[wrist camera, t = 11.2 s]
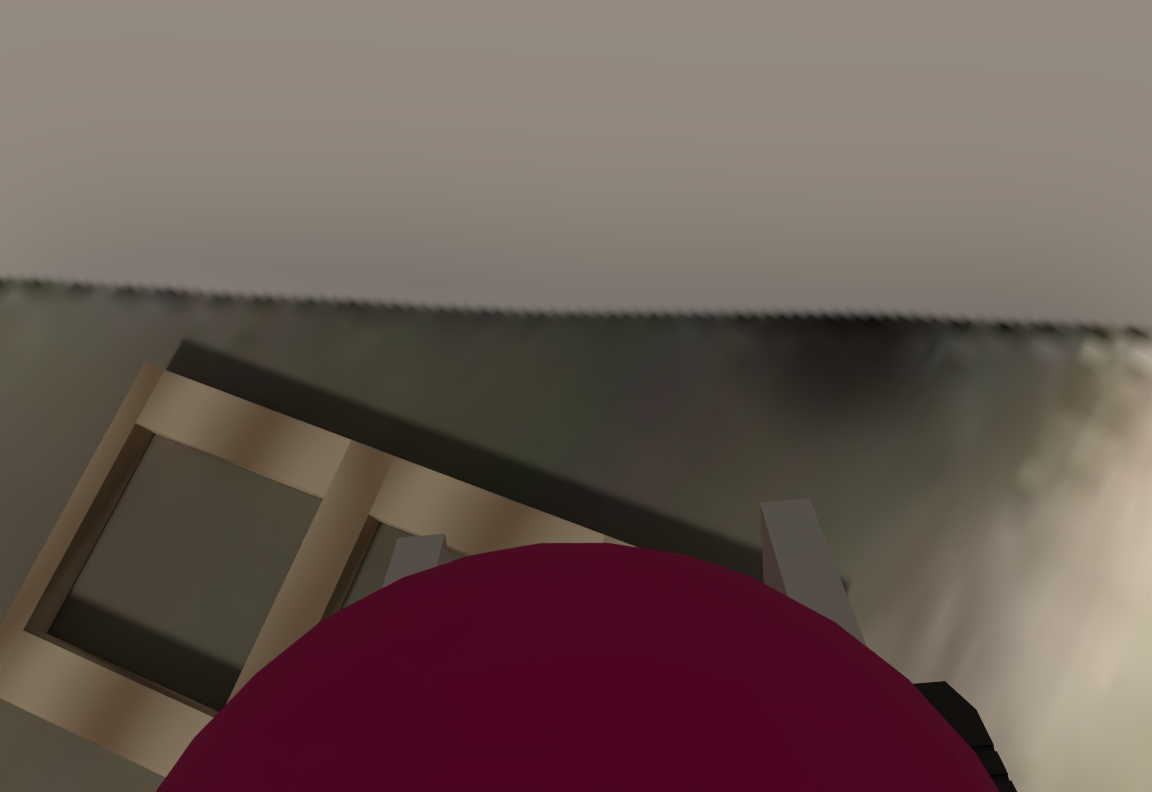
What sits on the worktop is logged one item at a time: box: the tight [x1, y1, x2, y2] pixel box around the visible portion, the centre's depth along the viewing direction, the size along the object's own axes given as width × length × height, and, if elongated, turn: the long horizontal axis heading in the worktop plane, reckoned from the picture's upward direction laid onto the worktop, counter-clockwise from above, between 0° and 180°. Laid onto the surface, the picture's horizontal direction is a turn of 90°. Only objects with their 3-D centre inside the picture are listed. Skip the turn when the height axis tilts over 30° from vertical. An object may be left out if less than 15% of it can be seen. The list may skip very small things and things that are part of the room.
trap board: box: [0, 363, 635, 777], centre depth 36 cm, size 30×14×2 cm, turn 69°
